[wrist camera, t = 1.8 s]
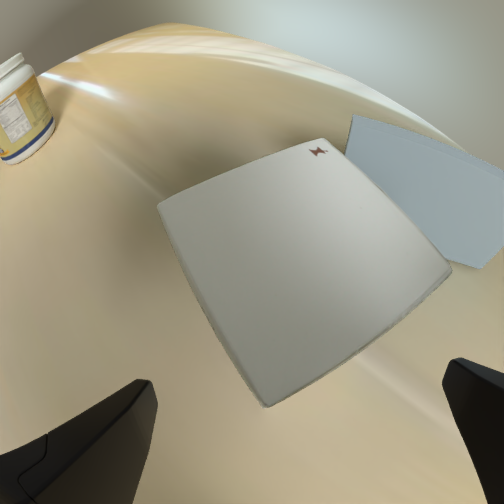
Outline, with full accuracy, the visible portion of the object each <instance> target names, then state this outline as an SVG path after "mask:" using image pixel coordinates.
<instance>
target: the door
mask: <svg viewBox="0 0 504 504" xmlns="http://www.w3.org/2000/svg"><path fill="white" fill-rule="evenodd" d="M344 155H345V156H346V157H347V158H348V159H349V160H350V161H351V162H353V163H354V164H355V165H356V166H357V167H358V168H359V169H360V170H362V171H363V172H364V173H365V174H366V175H367V176H368V177H369V178H370V179H371V180H372V181H373V182H375V183H376V184H377V185H378V186H379V187H380V188H381V189H382V190H383V191H385V192H386V194H387V195H388V196H389V197H390V198H391V199H392V200H393V201H394V202H395V203H396V204H397V205H398V206H399V207H400V208H401V209H402V210H403V211H404V212H405V213H406V214H407V215H408V216H409V218H410V219H411V220H412V221H413V222H414V223H415V224H416V225H417V226H418V227H419V228H420V230H421V231H422V232H423V233H424V234H425V235H426V236H427V238H428V239H429V240H430V241H431V242H432V243H433V244H434V245H435V246H436V247H437V249H438V250H439V251H440V252H441V254H442V255H443V256H444V257H445V258H446V259H449V260H452V261H456V262H459V263H462V264H465V265H468V266H471V267H475V268H478V269H481V268H482V267H483V266H484V265H485V264H486V263H487V262H488V261H489V260H490V259H491V258H492V257H493V256H494V255H495V254H496V253H497V252H498V251H499V250H500V249H501V248H502V247H503V246H504V171H503V170H501V169H499V168H497V167H495V166H493V165H491V164H489V163H487V162H485V161H483V160H481V159H479V158H477V157H474V156H472V155H470V154H468V153H466V152H464V151H461V150H459V149H457V148H454V147H452V146H449V145H447V144H444V143H442V142H439V141H437V140H434V139H432V138H429V137H426V136H423V135H421V134H418V133H415V132H412V131H409V130H406V129H403V128H400V127H397V126H394V125H390V124H387V123H384V122H380V121H377V120H373V119H370V118H366V117H362V116H358V115H354V114H353V116H352V121H351V126H350V130H349V135H348V139H347V143H346V148H345V152H344Z"/></svg>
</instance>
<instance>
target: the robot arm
mask: <svg viewBox="0 0 504 504" xmlns="http://www.w3.org/2000/svg"><path fill="white" fill-rule="evenodd" d="M442 387H443V390H444V392H445V395H446V397H447V400H448V403H449V406H450V408H451V411H452V414H453V417H454V420H455V422H456V425H457V427H458V429H459V431H460V434H461V436H462V438H463V440H464V443H465V445H466V447H467V450H468V452H469V454H470V457H471V459H472V462H473V464H474V467H475V469H476V472H477V474H478V477H479V480H480V483H481V485H482V488H483V491H484V494H485V497H486V500H487V503H488V504H504V373H501V372H499V371H496V370H493V369H491V368H488V367H485V366H483V365H480V364H477V363H475V362H472V361H469V360H467V359H464V358H456V359H452V360H451V361H450V362H449V364H448V366H447V369H446V372H445V375H444V377H443V380H442ZM157 408H158V402H157V398H156V395H155V391H154V388H153V384H152V382H151V381H149V380H144V379H136V380H134V381H133V382H131V383H130V384H128V385H126V386H125V387H123V388H122V389H120V390H119V391H117V392H115V393H114V394H112V395H111V396H109V397H107V398H106V399H104V400H102V401H101V402H99V403H97V404H96V405H94V406H93V407H91V408H89V409H88V410H86V411H84V412H83V413H81V414H79V415H78V416H76V417H74V418H72V419H71V420H69V421H67V422H66V423H64V424H62V425H60V426H59V427H57V428H55V429H53V430H52V431H50V432H48V434H44V435H43V436H41V437H39V438H37V439H35V440H33V441H31V442H30V443H28V444H26V445H24V446H21V447H19V448H17V449H15V450H12V451H10V452H7V453H5V454H2V455H0V504H132V503H133V500H134V497H135V494H136V490H137V487H138V484H139V481H140V478H141V474H142V471H143V468H144V465H145V462H146V459H147V456H148V452H149V449H150V444H151V439H152V433H153V428H154V423H155V418H156V413H157Z"/></svg>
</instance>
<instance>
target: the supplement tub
mask: <svg viewBox="0 0 504 504" xmlns="http://www.w3.org/2000/svg"><path fill="white" fill-rule="evenodd" d="M23 61H24V58H23V56H22V53H19V54H17V55H15V56H13V57H12V58H10V59H9V60H7V61H6V62H4V63H3V64H1V65H0V157H1V158H2V161H4V162H5V163H6V164H9V165H13V164H17V163H19V162H21V161H23V160H25V159H27V158H28V157H29V156H31V155H32V154H33V153H35V152H36V151H37V150H38V149H39V148H40V147H41V146H42V145H43V144H44V143H45V142H46V141H47V140H48V139H49V138H50V136H51V135H52V133H53V131H54V128H55V119H54V117H53V115H52V113H51V111H50V109H49V107H48V104H47V102H46V100H45V98H44V95H43V93H42V91H41V88H40V86H39V84H38V81H37V78H36V76H35V73H34V70H33V68H32V67H31V66H30V65H28V64H23V63H24V62H23Z"/></svg>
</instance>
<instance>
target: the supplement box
mask: <svg viewBox="0 0 504 504" xmlns="http://www.w3.org/2000/svg"><path fill="white" fill-rule="evenodd" d="M157 209H158V212H159V215H160V218H161V220H162V223H163V225H164V228H165V230H166V233H167V235H168V237H169V240H170V242H171V245H172V247H173V249H174V252H175V254H176V256H177V258H178V261H179V263H180V265H181V267H182V269H183V272H184V274H185V276H186V278H187V280H188V282H189V284H190V287H191V289H192V291H193V293H194V295H195V297H196V299H197V301H198V303H199V305H200V306H201V308H202V310H203V312H204V314H205V316H206V318H207V319H208V321H209V323H210V325H211V327H212V329H213V330H214V332H215V334H216V336H217V337H218V339H219V341H220V342H221V344H222V346H223V347H224V349H225V351H226V353H227V354H228V356H229V357H230V359H231V361H232V362H233V364H234V366H235V367H236V369H237V370H238V372H239V374H240V375H241V377H242V378H243V380H244V381H245V383H246V384H247V386H248V387H249V389H250V390H251V392H252V393H253V395H254V396H255V398H256V399H257V401H258V402H259V404H260V405H261V407H262V408H268V407H272V406H273V405H275V404H277V403H279V402H281V401H283V400H285V399H286V398H288V397H290V396H292V395H294V394H295V393H297V392H299V391H301V390H302V389H304V388H306V387H307V386H309V385H311V384H313V383H314V382H316V381H318V380H319V379H321V378H323V377H324V376H326V375H327V374H329V373H330V372H332V371H334V370H335V369H337V368H338V367H340V366H341V365H343V364H344V363H346V362H347V361H349V360H350V359H351V358H353V357H354V356H356V355H357V354H359V353H360V352H361V351H363V350H364V349H366V348H367V347H368V346H370V345H371V344H372V343H374V342H375V341H376V340H378V339H379V338H380V337H382V336H383V335H384V334H385V333H387V332H388V331H389V330H390V329H392V328H393V327H394V326H395V325H396V324H398V323H399V322H400V321H401V320H402V319H404V318H405V317H406V316H407V315H408V314H409V313H411V312H412V311H413V310H414V309H415V308H416V307H417V306H419V305H420V304H421V303H422V302H423V301H424V300H425V299H426V298H427V297H428V296H429V295H431V294H432V293H433V292H434V291H435V290H436V289H437V288H438V287H439V286H440V285H441V284H442V283H443V282H444V281H445V280H446V279H447V278H448V277H449V276H450V275H451V273H452V268H451V266H450V264H449V262H448V261H447V259H446V258H445V257H444V256H443V255H442V254H441V252H440V251H439V250H438V249H437V247H436V246H435V245H434V244H433V243H432V242H431V241H430V240H429V239H428V238H427V236H426V235H425V234H424V233H423V232H422V231H421V230H420V228H419V227H418V226H417V225H416V224H415V223H414V222H413V221H412V220H411V219H410V218H409V216H408V215H407V214H406V213H405V212H404V211H403V210H402V209H401V208H400V207H399V206H398V205H397V204H396V203H395V202H394V201H393V200H392V199H391V198H390V197H389V196H388V195H387V194H386V192H385V191H383V190H382V189H381V188H380V187H379V186H378V185H377V184H376V183H375V182H373V181H372V180H371V179H370V178H369V177H368V176H367V175H366V174H365V173H364V172H363V171H362V170H360V169H359V168H358V167H357V166H356V165H355V164H354V163H353V162H351V161H350V160H349V159H348V158H347V157H346V156H345V155H344V154H342V153H341V152H340V151H339V150H338V149H336V148H335V147H334V146H333V145H332V144H331V143H330V142H329V141H327V140H326V139H325V138H319V139H315V140H312V141H308V142H305V143H302V144H299V145H295V146H292V147H290V148H287V149H284V150H281V151H279V152H276V153H273V154H270V155H268V156H265V157H262V158H260V159H257V160H255V161H252V162H250V163H247V164H245V165H242V166H239V167H237V168H234V169H232V170H229V171H227V172H225V173H222V174H220V175H218V176H215V177H213V178H210V179H208V180H206V181H204V182H201V183H199V184H196V185H194V186H192V187H190V188H188V189H185V190H183V191H181V192H179V193H177V194H175V195H173V196H171V197H169V198H167V199H165V200H164V201H162V202H160V203H159V204H158V205H157Z"/></svg>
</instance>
